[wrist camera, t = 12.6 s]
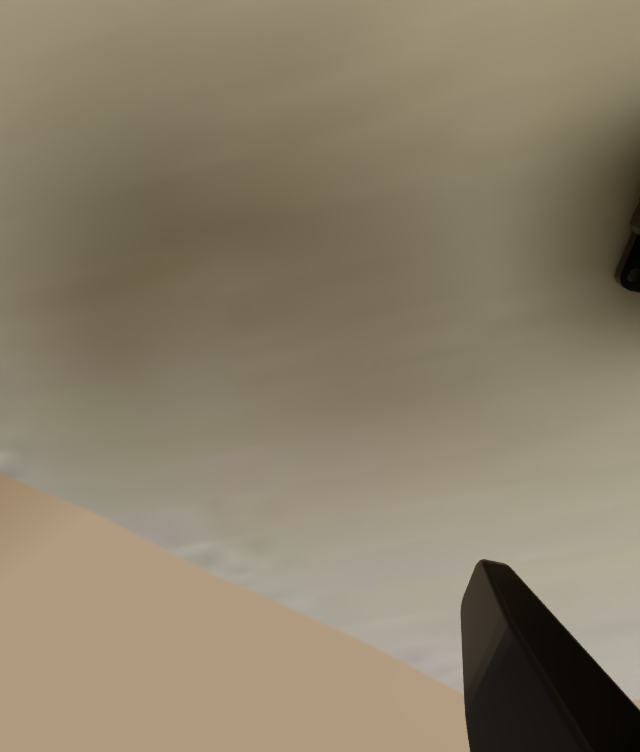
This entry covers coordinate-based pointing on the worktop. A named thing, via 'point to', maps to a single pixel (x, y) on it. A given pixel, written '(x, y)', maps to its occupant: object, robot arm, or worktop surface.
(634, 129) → the worktop surface
